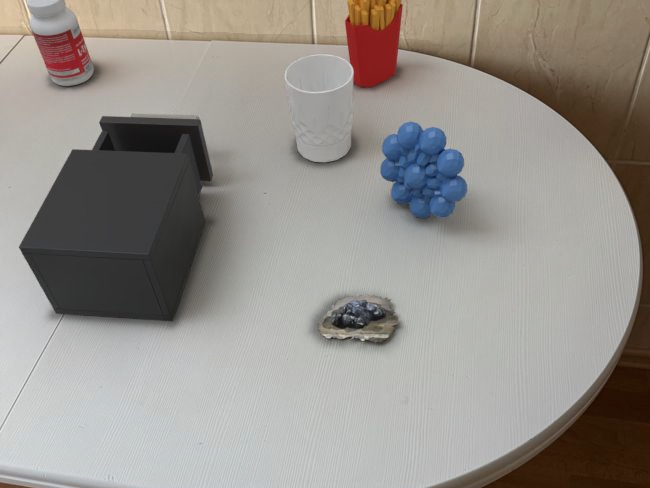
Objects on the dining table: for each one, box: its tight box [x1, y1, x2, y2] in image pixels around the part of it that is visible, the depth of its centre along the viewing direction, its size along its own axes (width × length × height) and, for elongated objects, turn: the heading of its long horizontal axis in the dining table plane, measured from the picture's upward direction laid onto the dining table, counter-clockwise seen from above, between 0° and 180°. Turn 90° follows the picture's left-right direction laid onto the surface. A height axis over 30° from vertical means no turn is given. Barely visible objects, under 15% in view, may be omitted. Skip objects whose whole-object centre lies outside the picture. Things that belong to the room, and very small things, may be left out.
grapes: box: [379, 121, 468, 219], centre depth 75 cm, size 12×7×12 cm, turn 43°
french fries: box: [344, 0, 404, 88], centre depth 92 cm, size 8×4×12 cm, turn 128°
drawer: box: [91, 112, 214, 196], centre depth 79 cm, size 18×11×8 cm, turn 173°
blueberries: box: [317, 294, 400, 344], centre depth 69 cm, size 7×8×2 cm
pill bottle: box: [25, 0, 95, 87], centre depth 96 cm, size 6×6×11 cm
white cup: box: [283, 53, 354, 163], centre depth 84 cm, size 8×8×10 cm
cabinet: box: [18, 148, 207, 322], centre depth 73 cm, size 15×13×10 cm
